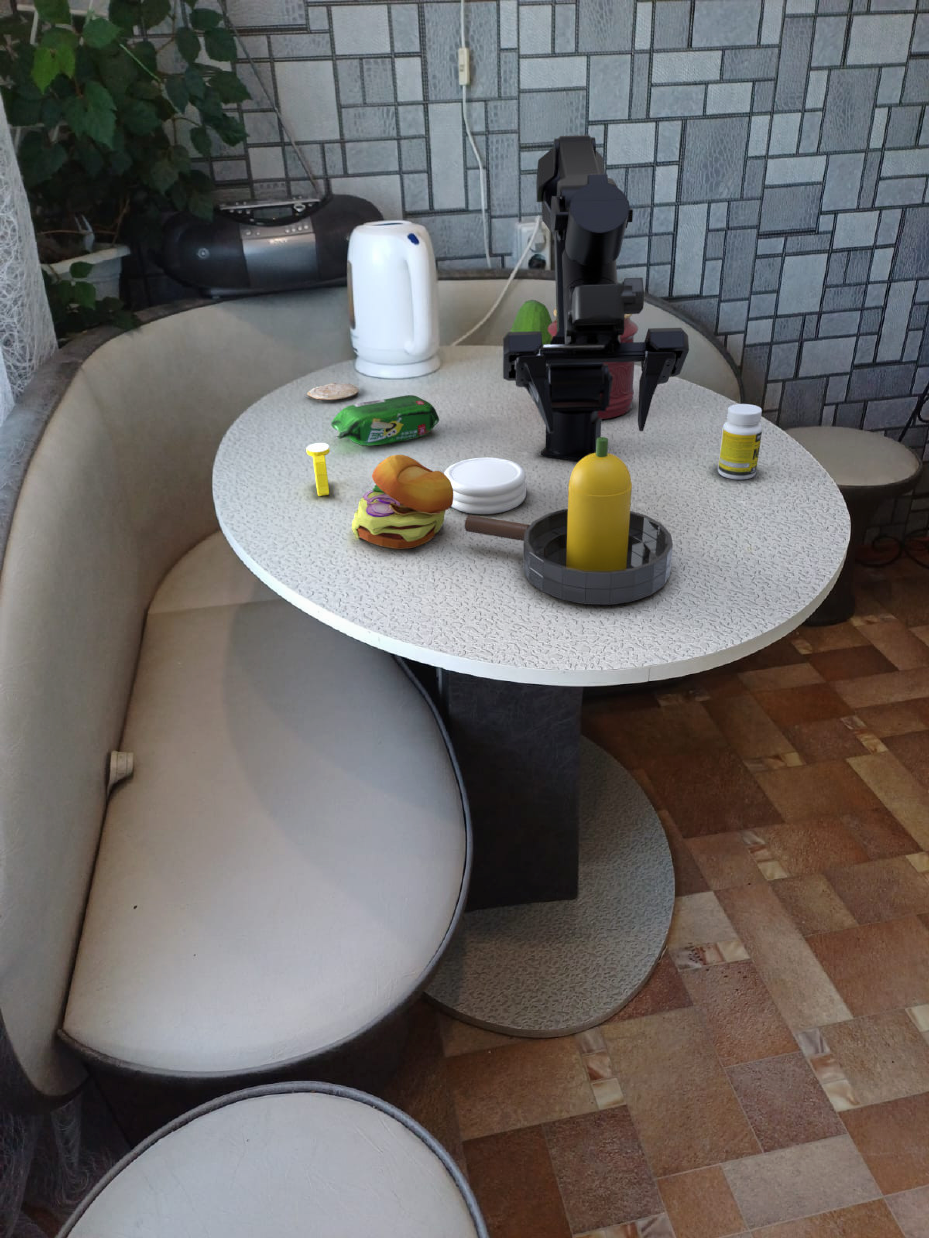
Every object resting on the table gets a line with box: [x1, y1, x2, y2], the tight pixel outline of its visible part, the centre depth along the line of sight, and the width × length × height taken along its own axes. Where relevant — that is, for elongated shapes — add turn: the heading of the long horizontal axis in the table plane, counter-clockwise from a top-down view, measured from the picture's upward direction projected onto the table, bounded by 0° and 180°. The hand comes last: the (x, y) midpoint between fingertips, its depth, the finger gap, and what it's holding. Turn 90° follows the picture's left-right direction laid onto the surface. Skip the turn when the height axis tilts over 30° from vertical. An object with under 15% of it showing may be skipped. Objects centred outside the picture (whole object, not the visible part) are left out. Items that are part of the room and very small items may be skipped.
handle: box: [464, 514, 530, 542], centre depth 100 cm, size 7×2×2 cm, turn 66°
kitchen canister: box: [548, 307, 639, 420], centre depth 136 cm, size 13×13×18 cm
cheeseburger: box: [351, 454, 453, 550], centre depth 105 cm, size 10×11×10 cm
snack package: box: [330, 394, 440, 447], centre depth 131 cm, size 7×16×5 cm, turn 115°
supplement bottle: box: [717, 403, 763, 480], centre depth 116 cm, size 5×5×8 cm
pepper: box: [566, 436, 633, 571], centre depth 94 cm, size 6×6×14 cm
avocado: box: [509, 299, 553, 345], centre depth 153 cm, size 8×8×12 cm
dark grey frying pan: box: [522, 508, 674, 606], centre depth 97 cm, size 15×15×4 cm
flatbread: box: [306, 382, 360, 401], centre depth 149 cm, size 8×8×1 cm
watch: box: [305, 442, 331, 497], centre depth 116 cm, size 6×3×6 cm, turn 12°
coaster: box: [443, 457, 527, 515], centre depth 113 cm, size 10×10×4 cm
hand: (596, 430), depth 95 cm, fingers open, 9 cm apart
